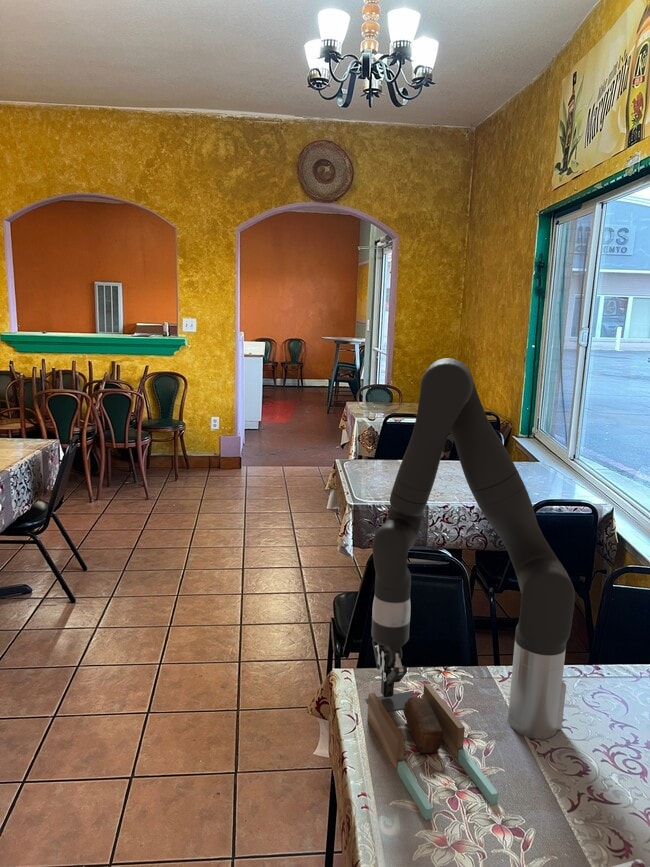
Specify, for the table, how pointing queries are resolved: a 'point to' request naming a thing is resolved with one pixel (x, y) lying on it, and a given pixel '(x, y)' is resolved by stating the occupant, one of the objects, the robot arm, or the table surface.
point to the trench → (395, 740)
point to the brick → (423, 725)
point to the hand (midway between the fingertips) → (386, 694)
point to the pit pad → (394, 701)
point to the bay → (470, 768)
